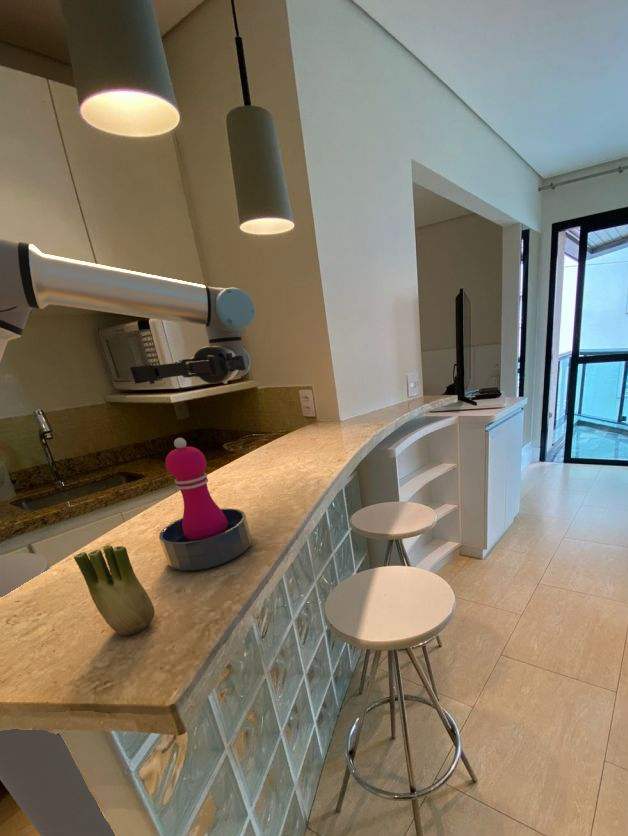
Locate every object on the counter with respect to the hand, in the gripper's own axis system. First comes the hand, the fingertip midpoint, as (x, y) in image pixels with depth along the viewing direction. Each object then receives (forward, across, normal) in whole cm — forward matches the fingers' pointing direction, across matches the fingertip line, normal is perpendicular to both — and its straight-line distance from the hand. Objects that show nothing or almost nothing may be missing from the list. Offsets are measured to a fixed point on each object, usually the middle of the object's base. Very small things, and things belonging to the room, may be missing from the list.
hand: (173, 371), depth 70 cm
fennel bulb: (+30, +1, -31) cm, 43 cm away
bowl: (+10, -2, -30) cm, 32 cm away
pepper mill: (+10, -3, -30) cm, 32 cm away
